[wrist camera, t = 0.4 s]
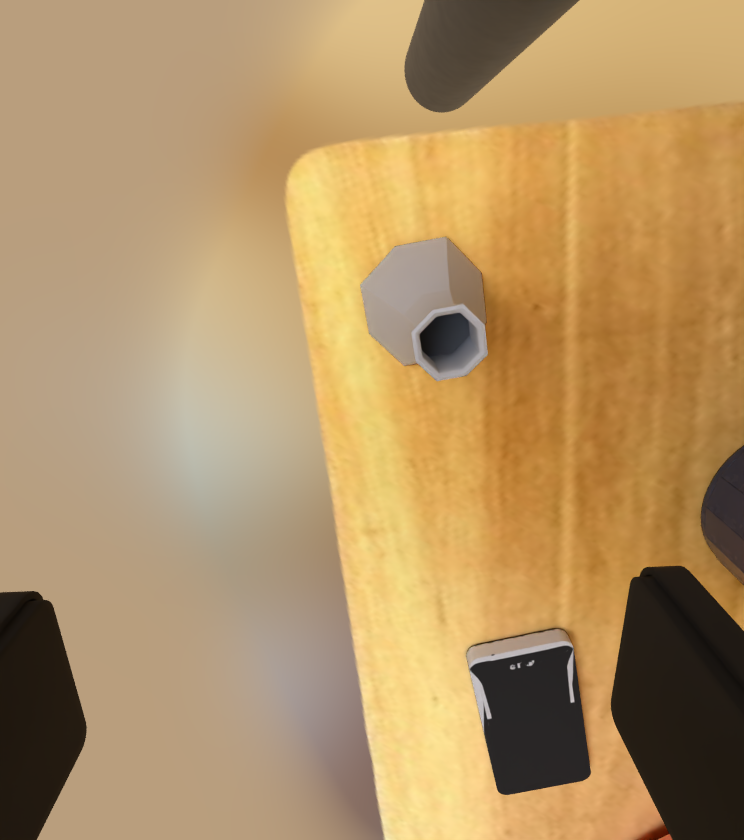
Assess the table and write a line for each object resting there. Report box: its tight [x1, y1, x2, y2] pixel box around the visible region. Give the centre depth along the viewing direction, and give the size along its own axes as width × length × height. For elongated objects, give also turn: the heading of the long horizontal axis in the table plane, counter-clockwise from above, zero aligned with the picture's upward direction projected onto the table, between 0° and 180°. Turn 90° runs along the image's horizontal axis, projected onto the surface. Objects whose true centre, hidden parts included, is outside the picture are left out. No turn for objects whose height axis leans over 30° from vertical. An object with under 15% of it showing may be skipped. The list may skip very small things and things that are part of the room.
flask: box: [360, 237, 488, 381], centre depth 28 cm, size 7×7×10 cm
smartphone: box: [466, 629, 591, 795], centre depth 44 cm, size 8×1×15 cm
